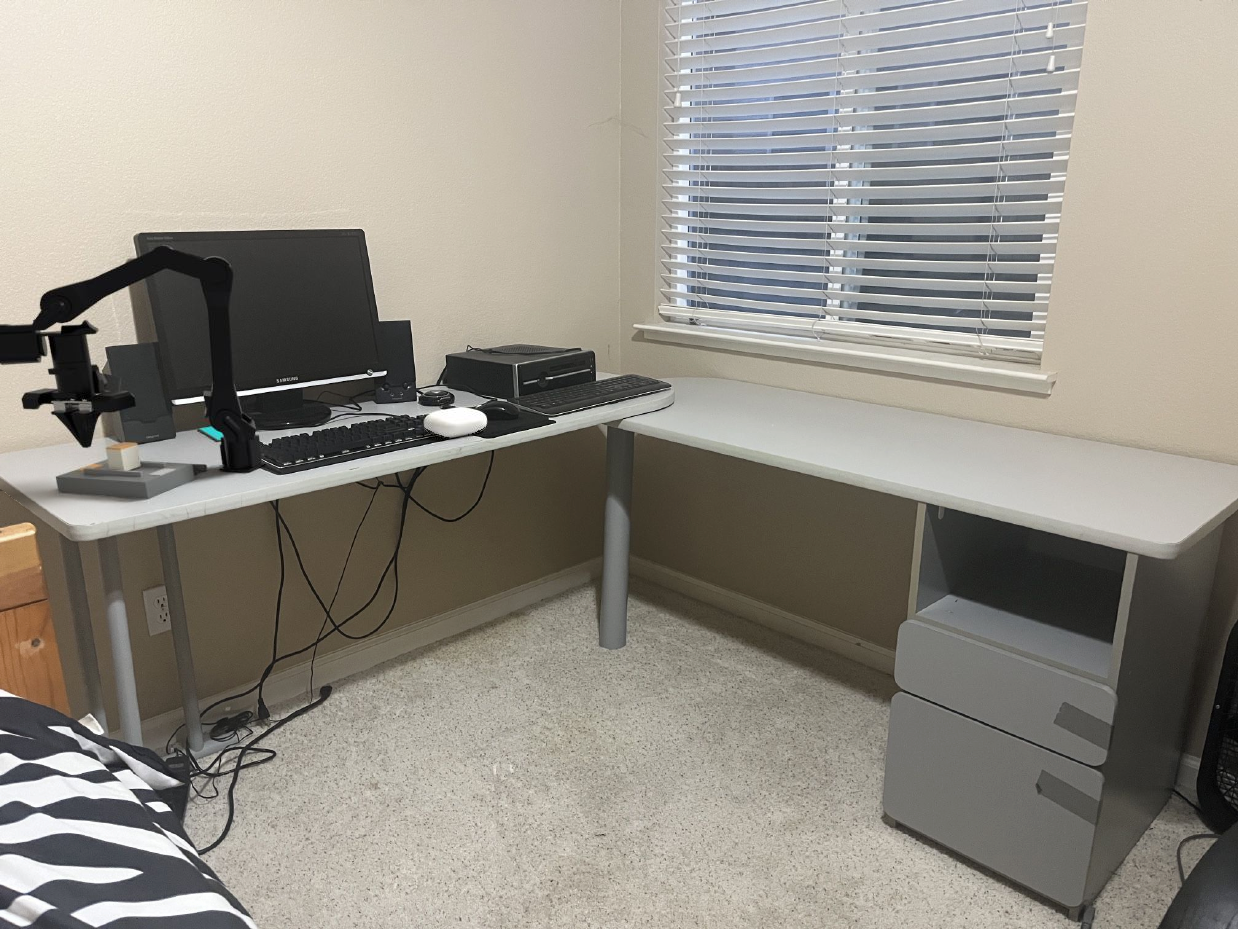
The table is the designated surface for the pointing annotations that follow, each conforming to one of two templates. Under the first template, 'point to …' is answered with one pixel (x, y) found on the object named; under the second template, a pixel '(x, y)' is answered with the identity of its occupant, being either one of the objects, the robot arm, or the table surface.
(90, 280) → the robot arm
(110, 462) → the toggle
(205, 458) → the table surface
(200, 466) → the grey thin rod
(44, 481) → the table surface
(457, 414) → the earbud case
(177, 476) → the grey tray
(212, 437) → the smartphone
